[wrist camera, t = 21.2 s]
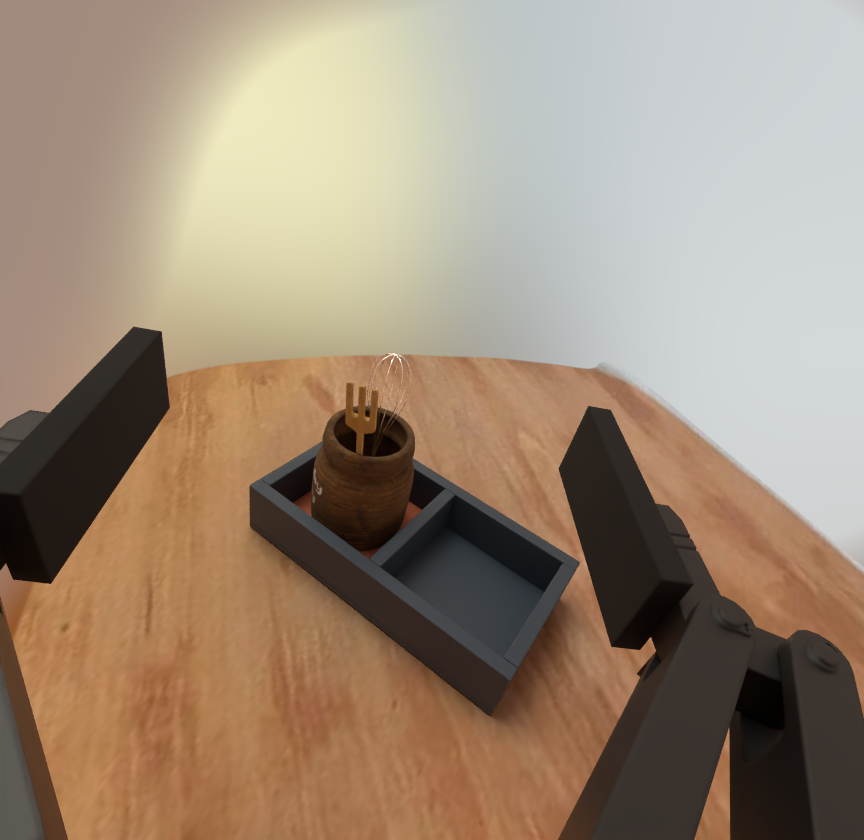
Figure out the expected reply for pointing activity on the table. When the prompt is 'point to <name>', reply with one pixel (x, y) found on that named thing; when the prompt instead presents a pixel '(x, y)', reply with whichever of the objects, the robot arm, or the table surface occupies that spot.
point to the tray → (429, 574)
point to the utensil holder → (364, 470)
